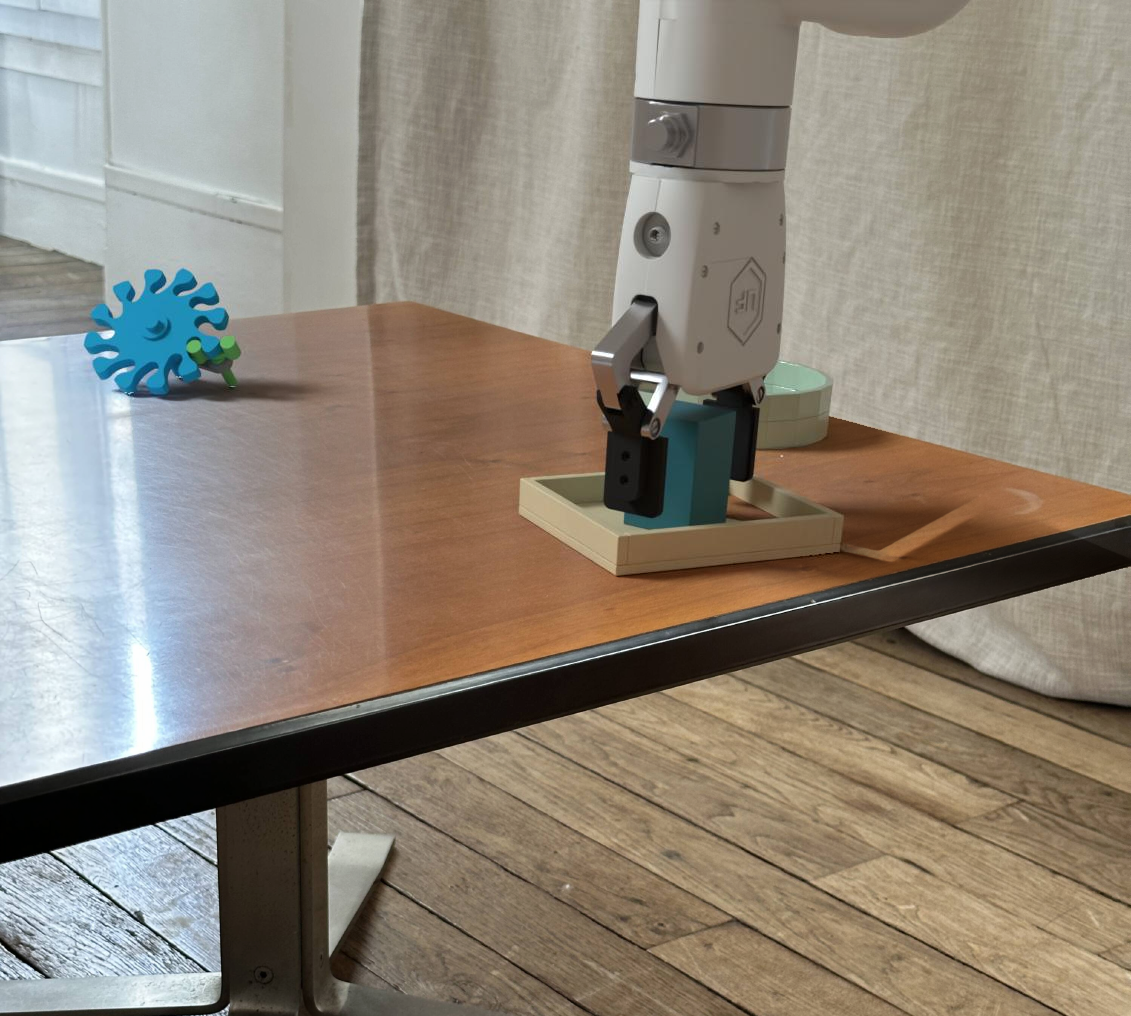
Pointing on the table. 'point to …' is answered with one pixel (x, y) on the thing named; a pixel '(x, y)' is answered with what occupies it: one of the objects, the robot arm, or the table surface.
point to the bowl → (786, 406)
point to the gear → (162, 334)
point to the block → (694, 467)
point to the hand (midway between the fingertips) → (680, 493)
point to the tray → (624, 549)
